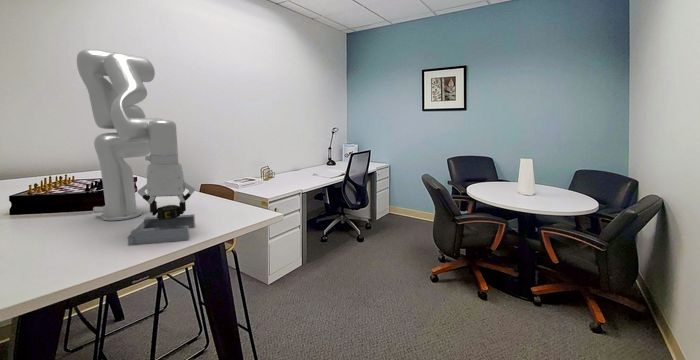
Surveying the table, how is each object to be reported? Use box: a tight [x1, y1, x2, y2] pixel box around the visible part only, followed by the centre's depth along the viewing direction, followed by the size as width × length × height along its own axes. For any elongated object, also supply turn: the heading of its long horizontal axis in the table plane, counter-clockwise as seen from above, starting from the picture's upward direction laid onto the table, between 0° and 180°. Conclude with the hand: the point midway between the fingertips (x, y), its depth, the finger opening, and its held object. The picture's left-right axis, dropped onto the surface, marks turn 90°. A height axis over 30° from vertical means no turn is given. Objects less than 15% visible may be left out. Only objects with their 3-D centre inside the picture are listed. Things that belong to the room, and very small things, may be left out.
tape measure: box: [155, 204, 181, 220], centre depth 105 cm, size 7×7×4 cm
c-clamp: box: [127, 214, 196, 246], centre depth 106 cm, size 16×18×4 cm
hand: (168, 213), depth 105 cm, fingers closed on tape measure, 7 cm apart
